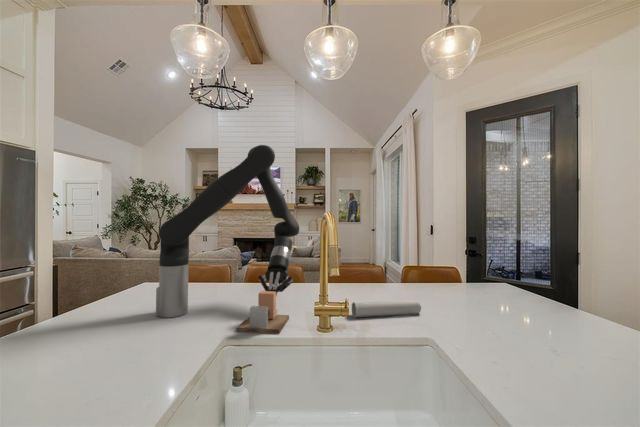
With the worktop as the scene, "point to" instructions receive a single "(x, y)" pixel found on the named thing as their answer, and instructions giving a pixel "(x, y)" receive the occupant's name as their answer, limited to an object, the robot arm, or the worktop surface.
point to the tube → (385, 308)
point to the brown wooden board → (273, 327)
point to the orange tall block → (268, 302)
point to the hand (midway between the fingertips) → (270, 301)
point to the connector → (259, 317)
